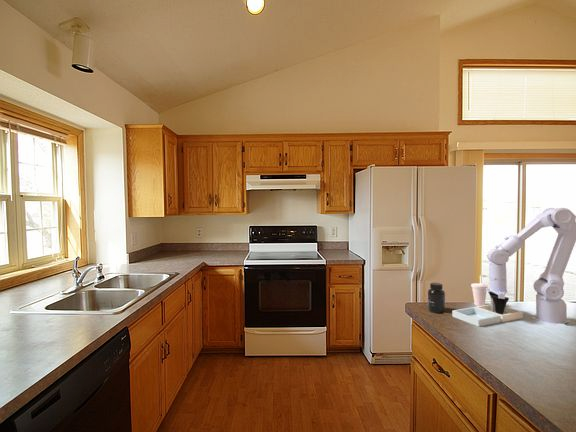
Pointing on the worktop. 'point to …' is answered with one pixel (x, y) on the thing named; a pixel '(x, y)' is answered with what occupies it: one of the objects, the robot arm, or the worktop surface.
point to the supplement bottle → (436, 298)
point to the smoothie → (479, 293)
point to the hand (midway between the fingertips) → (498, 311)
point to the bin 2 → (510, 314)
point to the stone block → (494, 307)
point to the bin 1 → (476, 316)
